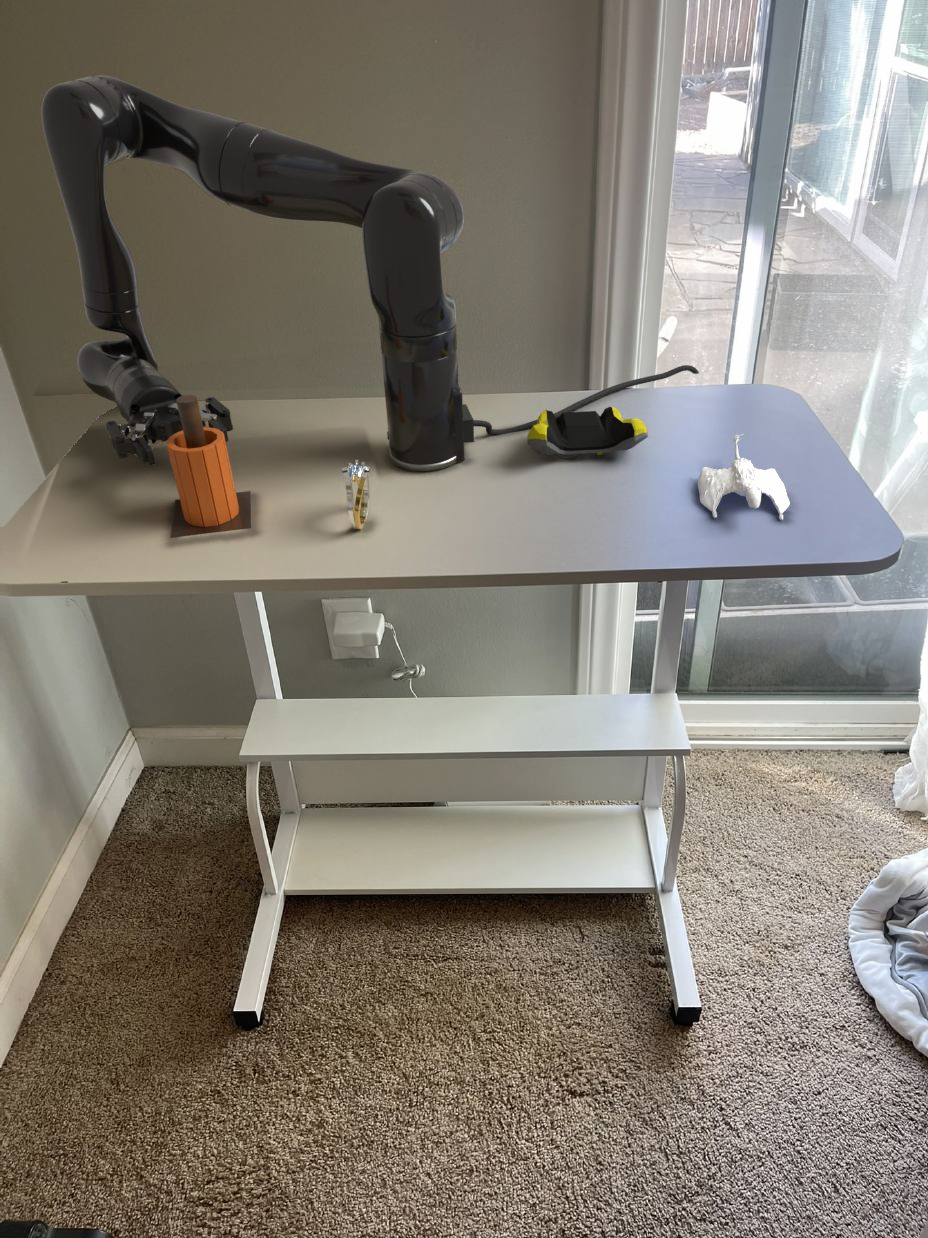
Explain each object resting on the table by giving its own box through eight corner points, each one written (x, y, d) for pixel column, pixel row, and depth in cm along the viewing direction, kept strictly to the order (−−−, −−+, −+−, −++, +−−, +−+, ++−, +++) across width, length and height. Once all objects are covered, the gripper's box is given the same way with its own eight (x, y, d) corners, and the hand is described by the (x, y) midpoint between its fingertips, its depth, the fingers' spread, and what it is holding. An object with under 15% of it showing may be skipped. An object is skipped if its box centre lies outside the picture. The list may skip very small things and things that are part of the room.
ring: (368, 543, 103) (361, 479, 98) (340, 541, 103) (332, 477, 98) (382, 512, 108) (376, 450, 103) (356, 510, 109) (349, 449, 104)
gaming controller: (648, 466, 115) (632, 432, 123) (652, 425, 112) (635, 393, 120) (529, 472, 115) (520, 437, 123) (529, 431, 112) (521, 399, 120)
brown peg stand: (251, 496, 112) (229, 379, 103) (252, 533, 105) (228, 410, 96) (176, 505, 111) (147, 387, 102) (171, 543, 104) (139, 420, 95)
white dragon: (690, 456, 117) (694, 426, 115) (772, 458, 116) (778, 428, 114) (704, 529, 103) (709, 496, 100) (798, 532, 102) (805, 499, 99)
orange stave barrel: (238, 497, 111) (224, 424, 105) (238, 523, 106) (223, 447, 100) (186, 503, 110) (168, 430, 104) (183, 529, 105) (164, 454, 99)
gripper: (85, 387, 114) (118, 433, 103) (197, 362, 120) (239, 403, 108) (101, 443, 118) (134, 493, 107) (208, 416, 124) (250, 461, 113)
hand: (187, 448), depth 108 cm, fingers open, 8 cm apart
